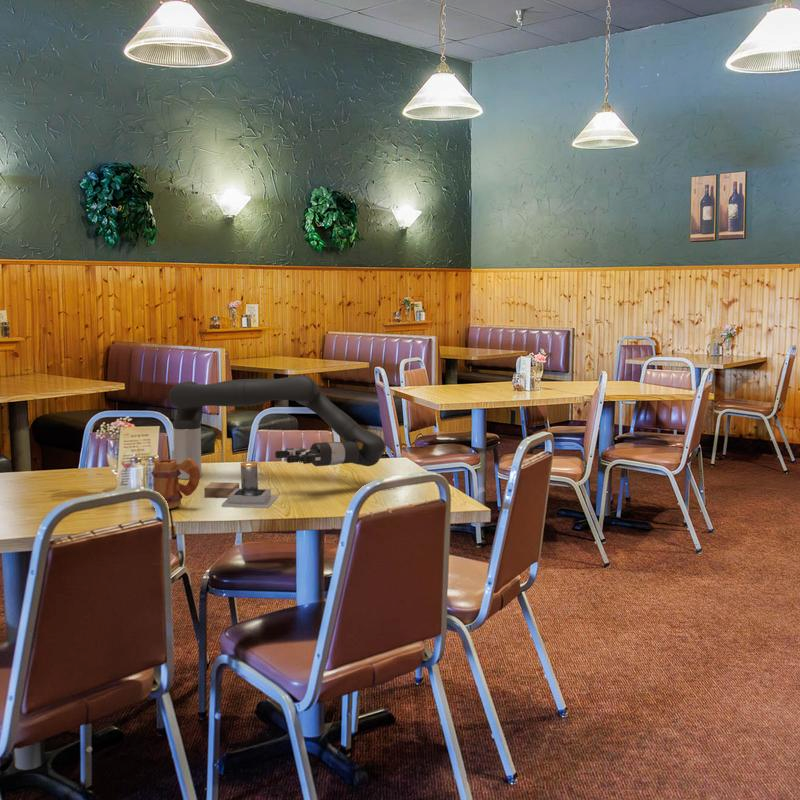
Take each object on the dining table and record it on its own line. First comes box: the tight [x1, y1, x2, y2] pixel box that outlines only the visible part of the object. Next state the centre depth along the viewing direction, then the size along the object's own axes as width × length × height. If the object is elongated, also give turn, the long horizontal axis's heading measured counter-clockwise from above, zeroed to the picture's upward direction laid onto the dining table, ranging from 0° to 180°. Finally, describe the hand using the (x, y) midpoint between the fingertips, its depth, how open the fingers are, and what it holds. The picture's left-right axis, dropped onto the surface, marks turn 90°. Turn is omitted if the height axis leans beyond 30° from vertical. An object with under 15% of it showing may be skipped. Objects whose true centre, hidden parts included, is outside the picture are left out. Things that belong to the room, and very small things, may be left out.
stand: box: [203, 481, 240, 499], centre depth 285 cm, size 9×9×3 cm
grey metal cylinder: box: [240, 461, 259, 496], centre depth 274 cm, size 5×5×11 cm
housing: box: [221, 488, 278, 509], centre depth 275 cm, size 14×14×3 cm
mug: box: [150, 458, 201, 510], centre depth 265 cm, size 15×8×15 cm, turn 82°
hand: (281, 457), depth 279 cm, fingers open, 8 cm apart
